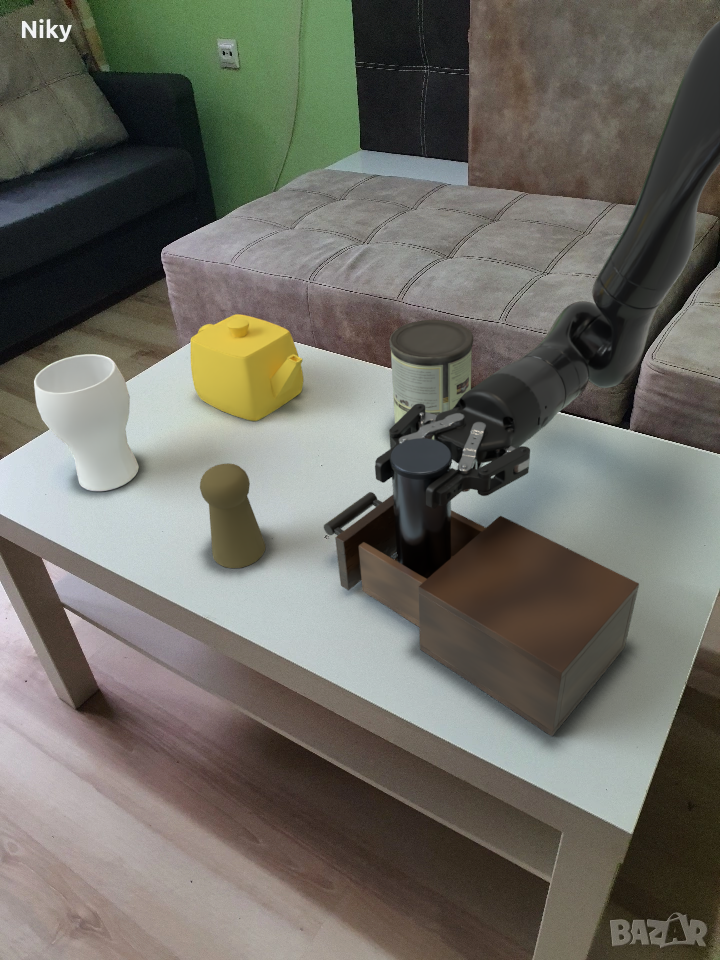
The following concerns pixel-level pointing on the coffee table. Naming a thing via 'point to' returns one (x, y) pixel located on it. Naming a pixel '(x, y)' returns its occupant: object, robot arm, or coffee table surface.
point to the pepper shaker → (231, 516)
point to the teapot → (245, 366)
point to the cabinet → (526, 620)
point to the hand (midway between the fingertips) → (403, 485)
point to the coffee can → (430, 365)
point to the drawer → (385, 553)
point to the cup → (89, 417)
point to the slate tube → (420, 505)
